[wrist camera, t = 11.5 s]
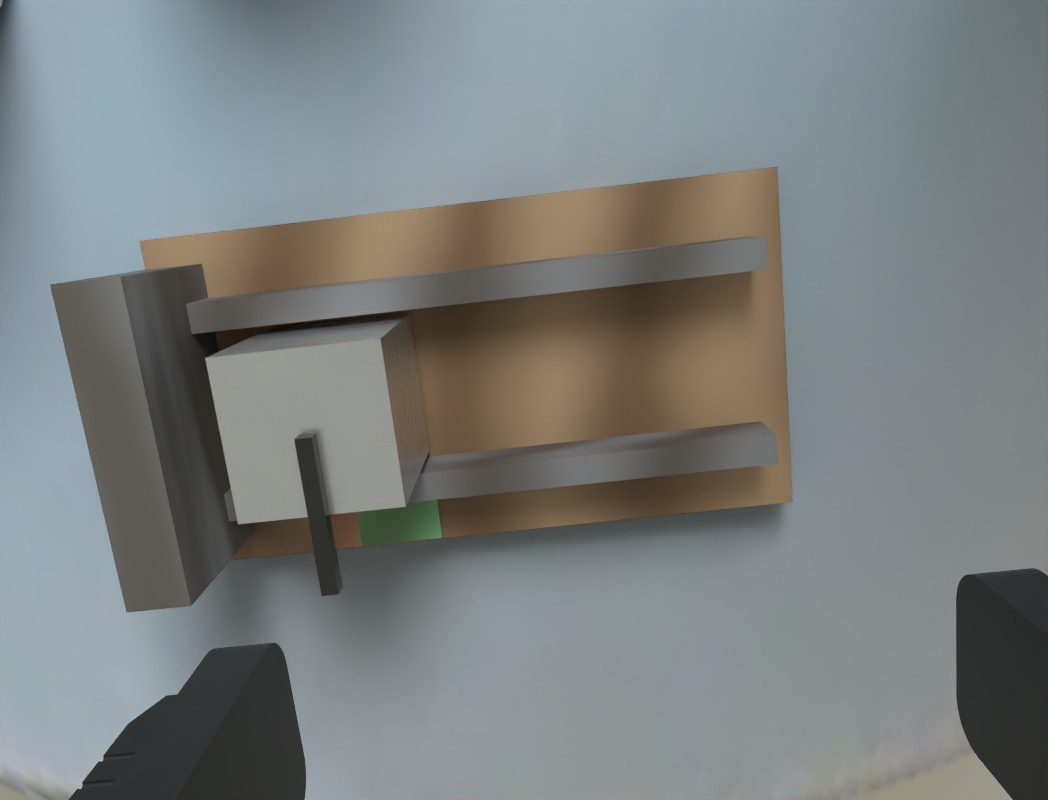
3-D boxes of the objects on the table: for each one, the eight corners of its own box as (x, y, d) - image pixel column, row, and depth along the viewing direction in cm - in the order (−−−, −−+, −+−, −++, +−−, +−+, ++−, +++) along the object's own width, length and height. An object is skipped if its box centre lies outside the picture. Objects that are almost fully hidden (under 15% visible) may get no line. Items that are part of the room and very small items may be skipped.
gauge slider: (410, 313, 30) (377, 341, 23) (438, 509, 31) (414, 586, 25) (269, 329, 30) (198, 361, 23) (304, 524, 31) (246, 603, 25)
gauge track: (765, 169, 30) (840, 155, 23) (780, 489, 33) (853, 569, 25) (157, 239, 31) (41, 248, 23) (220, 547, 33) (133, 641, 26)
